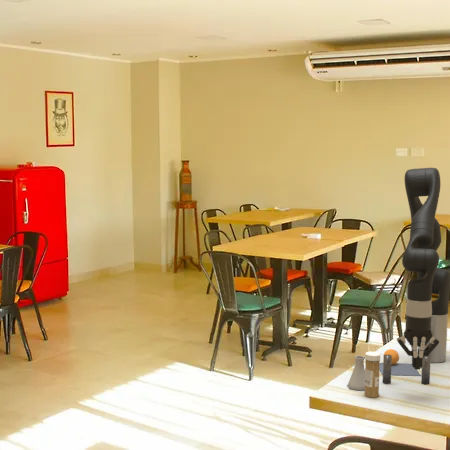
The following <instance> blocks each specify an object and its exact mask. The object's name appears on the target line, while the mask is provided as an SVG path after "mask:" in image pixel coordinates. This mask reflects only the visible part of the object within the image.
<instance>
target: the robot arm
mask: <svg viewBox="0 0 450 450" xmlns="http://www.w3.org/2000/svg"><path fill="white" fill-rule="evenodd" d="M440 175H441V174H440V171H439V169H437V168H436V167H421V168H411V169H407V170H406V171H405V173H404V187H405V193H406V198H407V202H408V206H409V211H410V218H411V219H410V220H411V221H410V228H409V229H410V230H409V240H408V243H407V246H406V248H405V250H404V252H403V255H402V259H401V262H402V263H401V264H402V267H403V268H404V269H405V270H406V271H408V272H416V274H417V278H412V279H409V280H408V282H407V292H406V293H407V295H406V297H407V298H406V304H405V329H404V331H403V335H402V336H401V337H397V338H396V342H397V343H398V344H399V346H400V347H401V348H402V349H403V351H404V352H405V353H406V355H407V356H408V357H411V364H412V366H413V368H414V369H417V370H418V371H419V370H420V369H422V359H423V357H424V356H430V357H431V363H443V362H446V361H447V359H446V358H447V345H448V344H447V341H448V319H449V301H450V271H449V270H448V269H446V268H438V267H439V264H440V263H439V262H440V256H439V253H438V249H439V247H440V246H441V243H442V234H441V233H442V232H441V226H440V225H441V224H440V223H439V221H438V219H437V218H436V213H437V208H438V205H439V198H440V192H441V176H440ZM420 197H427V198H426V200H425V201H424V203H422V201H421V199H420ZM432 295H438V297H437V298H436V299H434V300H432ZM406 341H407V343H409V345H410V349H411V350H410V349H409V348H408V347H407V345H406Z"/></svg>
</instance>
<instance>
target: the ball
mask: <svg viewBox="0 0 450 450" xmlns="http://www.w3.org/2000/svg"><path fill="white" fill-rule="evenodd" d="M384 355H391V356H392V363H391V365H394V364H396V363H399V360H400V354H399V352H397V350H396V349H391V348H390V349H387V350H385V351H384V353H383V357H384Z"/></svg>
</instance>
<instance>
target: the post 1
mask: <svg viewBox="0 0 450 450" xmlns="http://www.w3.org/2000/svg"><path fill="white" fill-rule="evenodd" d="M383 356H384V357H383V358H382V359H383V362H382V363H383V375H382V383H383V384H385V385H391V382H392V375H391V363H392V356H391V355H384V354H383Z"/></svg>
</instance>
